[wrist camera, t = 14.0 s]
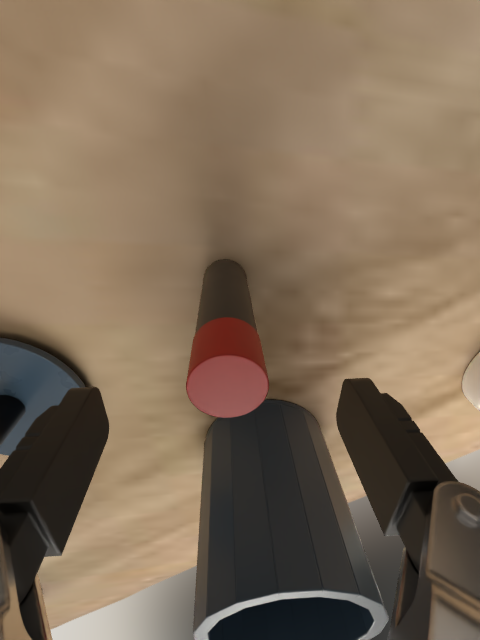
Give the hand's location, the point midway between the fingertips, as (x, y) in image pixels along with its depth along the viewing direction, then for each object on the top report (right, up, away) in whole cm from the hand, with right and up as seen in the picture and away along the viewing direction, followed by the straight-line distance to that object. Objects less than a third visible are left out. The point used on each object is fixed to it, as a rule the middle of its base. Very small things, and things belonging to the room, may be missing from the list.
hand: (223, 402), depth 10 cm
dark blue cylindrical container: (+3, -9, +17) cm, 20 cm away
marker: (0, +5, +10) cm, 11 cm away
